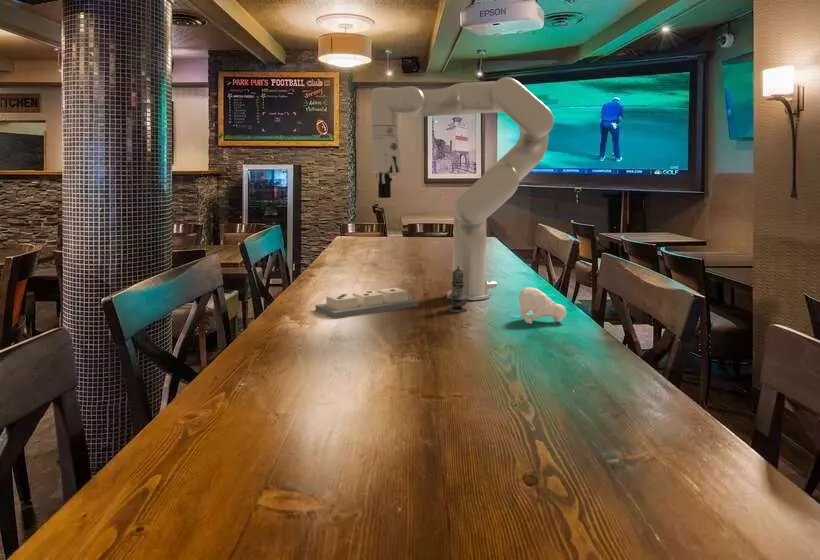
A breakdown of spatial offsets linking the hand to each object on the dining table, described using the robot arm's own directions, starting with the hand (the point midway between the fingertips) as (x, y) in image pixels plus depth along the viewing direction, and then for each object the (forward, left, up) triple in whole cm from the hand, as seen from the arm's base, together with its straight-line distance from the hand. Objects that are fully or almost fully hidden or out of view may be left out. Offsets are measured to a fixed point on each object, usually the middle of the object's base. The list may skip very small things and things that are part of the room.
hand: (384, 197), depth 180 cm
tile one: (+5, +12, -29) cm, 32 cm away
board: (+13, +12, -29) cm, 34 cm away
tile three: (+21, +12, -29) cm, 38 cm away
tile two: (+13, +12, -29) cm, 34 cm away
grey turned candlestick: (-6, +27, -29) cm, 40 cm away
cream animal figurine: (-16, +49, -29) cm, 59 cm away
